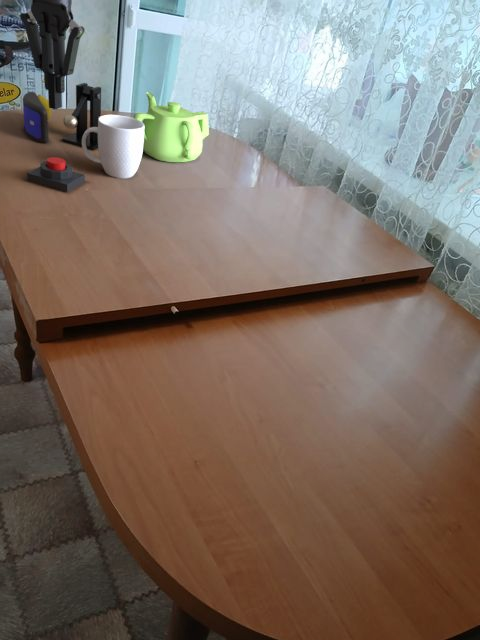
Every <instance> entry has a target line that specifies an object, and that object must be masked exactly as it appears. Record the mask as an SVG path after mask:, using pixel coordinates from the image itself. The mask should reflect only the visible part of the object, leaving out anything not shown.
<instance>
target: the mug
mask: <svg viewBox="0 0 480 640" xmlns="http://www.w3.org/2000/svg"><path fill="white" fill-rule="evenodd" d="M90 132H95V133H97V134H98V148H97V149H98V156H99V158H98V157H95V156H94V155H92V154H91V153H90V152H89V149H87V147H86V138H87V135H88V134H89V133H90ZM143 143H144V124H143V123H142V122H141V121H139V120H137V119H134V117H131V116H127V115H121V114H105V115H101V116H100V117H99V118H98V127H91V128H90V127H88V128H87V130H86V131H85V133H84V134H83V137H82V147H81V149H82V151H83V154H84V155H85V156H86V158H87V159H89V160H90V161H91V162H94V163H97V164H99V165H101V166H102V169H103V170H104V172H105V173H106V175H108V176H110V177H113V178H117V179H129V178H132V177H134V176H135V174H136V172H137V171H138V169H139V167H140V164H141V161H142V158H143V152H144V151H143Z"/></svg>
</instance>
